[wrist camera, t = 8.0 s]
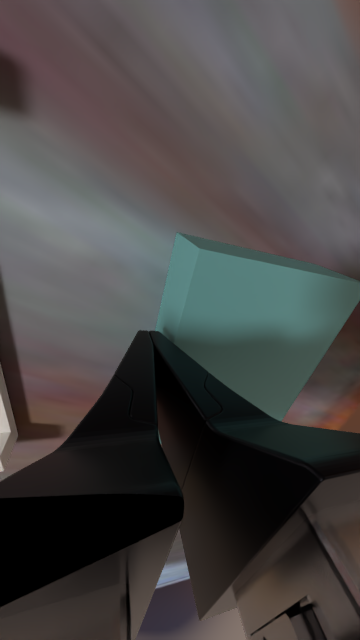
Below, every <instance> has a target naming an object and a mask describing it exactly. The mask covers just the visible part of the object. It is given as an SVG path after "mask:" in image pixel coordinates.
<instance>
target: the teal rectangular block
mask: <svg viewBox="0 0 360 640" xmlns="http://www.w3.org/2000/svg"><path fill="white" fill-rule="evenodd" d="M359 301H360V281H358V280H356V279H353V278H350V277H348V276H345V275H342V274H340V273H337V272H334V271H332V270H329V269H326V268H324V267H321V266H318V265H316V264H312V263H308V262H303V261H299V260H295V259H290V258H286V257H282V256H277V255H273V254H269V253H264V252H260V251H256V250H251V249H247V248H243V247H238V246H234V245H230V244H225V243H221V242H217V241H212V240H208V239H204V238H199V237H195V236H191V235H186V234H182V233H178V232H177V234H176V238H175V243H174V247H173V252H172V257H171V261H170V266H169V270H168V275H167V279H166V284H165V288H164V293H163V297H162V302H161V307H160V311H159V316H158V320H157V325H156V329H155V331H159V332H160V333H162V334H163V335H164V336H165V337H167V338H168V339H169V340H170V341H171V342H173V343H174V344H175V345H176V346H178V347H179V348H180V349H181V350H183V351H184V352H185V353H186V354H187V355H189V356H190V357H191V358H192V359H194V360H195V361H196V362H197V363H198V364H200V365H201V366H202V367H203V368H205V369H206V370H207V371H208V372H209V373H211V374H212V375H213V376H214V377H216V378H217V379H218V380H220V381H221V382H222V383H223V384H225V385H226V386H227V387H229V388H230V389H232V390H233V391H234V392H236V393H237V394H239V395H240V396H242V397H243V398H244V399H246V400H247V401H249V402H250V403H252V404H253V405H255V406H256V407H258V408H259V409H261V410H262V411H264V412H265V413H267V414H268V415H270V416H271V417H273V418H275V419H277V420H279V421H282V419H283V418H284V416H285V415H286V413H287V412H288V410H289V409H290V407H291V405H292V404H293V402H294V401H295V399H296V398H297V396H298V395H299V393H300V392H301V390H302V389H303V387H304V385H305V384H306V382H307V381H308V379H309V378H310V376H311V375H312V373H313V372H314V370H315V368H316V367H317V365H318V364H319V362H320V361H321V359H322V358H323V356H324V355H325V353H326V352H327V350H328V348H329V347H330V345H331V344H332V342H333V341H334V339H335V338H336V336H337V335H338V333H339V331H340V330H341V328H342V327H343V325H344V324H345V322H346V321H347V319H348V318H349V316H350V315H351V313H352V311H353V310H354V308H355V307H356V305H357V304H358V302H359ZM158 433H159V430H158ZM159 440H160V444H161V439H160V435H159Z"/></svg>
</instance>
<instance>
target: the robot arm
mask: <svg viewBox="0 0 360 640" xmlns="http://www.w3.org/2000/svg"><path fill="white" fill-rule="evenodd" d="M158 430H159V433H158ZM159 435H160V439H161V444H162V446H161V444H160V440H159ZM178 529H180V533H181V538H182V543H183V547H184V552H185V557H186V561H187V566H188V571H189V575H190V580H191V585H192V589H193V594H194V598H195V603H196V608H197V612H198V617H199V620H200V621H202V620H205V619H208V618H210V617H213V616H215V615H218V614H221V613H224V612H226V611H229V610H231V609H234V608H238V611H239V615H240V618H241V622H242V625H243V629H244V632H245V636H246V639H247V640H360V434H359V433H352V432H344V431H337V430H329V429H322V428H314V427H307V426H299V425H292V424H288V423H284V422H282V421H279V420H277V419H275V418H273V417H271V416H270V415H268V414H267V413H265V412H264V411H262V410H261V409H259V408H258V407H256V406H255V405H253V404H252V403H250V402H249V401H247V400H246V399H244V398H243V397H242V396H240V395H239V394H237V393H236V392H234V391H233V390H232V389H230V388H229V387H227V386H226V385H225V384H223V383H222V382H221V381H220V380H218V379H217V378H216V377H214V376H213V375H212V374H211V373H209V372H208V371H207V370H206V369H205V368H203V367H202V366H201V365H200V364H198V363H197V362H196V361H195V360H194V359H192V358H191V357H190V356H189V355H187V354H186V353H185V352H184V351H183V350H181V349H180V348H179V347H178V346H176V345H175V344H174V343H173V342H171V341H170V340H169V339H168V338H167V337H165V336H164V335H163V334H162V333H160V332H159V331H149V332H148V331H142V330H139V331H138V332H137V334H136V336H135V338H134V339H133V341H132V343H131V345H130V347H129V348H128V350H127V352H126V354H125V356H124V357H123V359H122V361H121V363H120V365H119V366H118V368H117V370H116V372H115V374H114V376H113V377H112V379H111V380H110V382H109V384H108V386H107V387H106V389H105V390H104V392H103V394H102V395H101V396H100V398H99V399H98V400H97V402H96V403H95V404H94V406H93V407H92V408H91V410H90V411H89V412H88V413H87V415H86V416H85V417H84V418H83V420H82V421H81V422H80V423H79V425H78V426H77V427H76V429H75V430H74V431H73V432H72V434H71V435H70V436H69V437H68V438H67V440H66V441H65V442H64V443H63V444H62V445H61V446H60V447H59V448H58V449H56V450H55V451H54V452H52V453H51V454H49V455H47V456H45V457H44V458H42V459H40V460H38V461H36V462H34V463H32V464H31V465H29V466H27V467H25V468H23V469H21V470H20V471H18V472H16V473H14V474H12V475H10V476H9V477H7V478H5V479H3V480H1V481H0V640H135V638H136V636H137V633H138V631H139V628H140V626H141V623H142V621H143V618H144V615H145V613H146V610H147V608H148V605H149V603H150V600H151V598H152V595H153V593H154V590H155V587H156V585H157V582H158V580H159V577H160V575H161V572H162V570H163V567H164V565H165V562H166V560H167V557H168V554H169V552H170V549H171V547H172V544H173V542H174V539H175V537H176V534H177V532H178Z"/></svg>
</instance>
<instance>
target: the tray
mask: <svg viewBox="0 0 360 640" xmlns="http://www.w3.org/2000/svg"><path fill="white" fill-rule="evenodd" d="M17 438H18V432H17V428H16V424H15V420H14V416H13V412H12V408H11V404H10V400H9V396H8V392H7V388H6V384H5V380H4V376H3V372H2V368H1V364H0V472H1V471H4V470H5V467H6V465H7V462H8V460H9V457H10V455H11V452H12V450H13V448H14V445H15V443H16V440H17Z"/></svg>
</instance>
